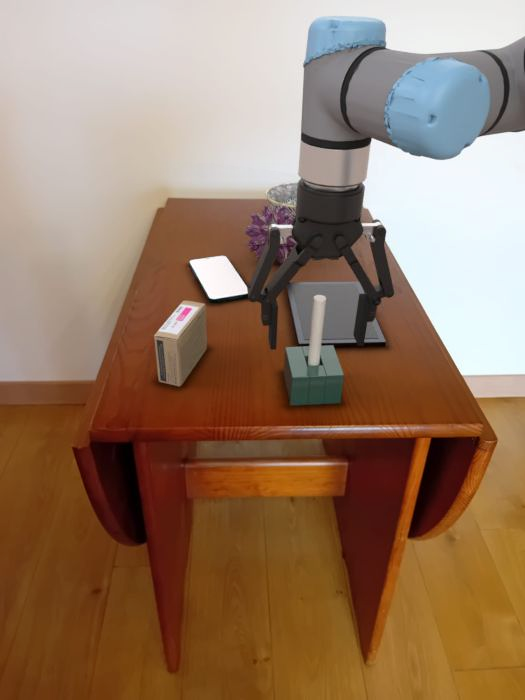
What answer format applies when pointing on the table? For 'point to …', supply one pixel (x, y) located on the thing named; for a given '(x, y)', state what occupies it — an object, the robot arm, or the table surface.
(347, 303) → the tablet
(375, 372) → the table surface
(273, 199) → the bowl
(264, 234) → the flower
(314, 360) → the stylus
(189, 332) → the ink box
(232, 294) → the smartphone
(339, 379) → the pen block
